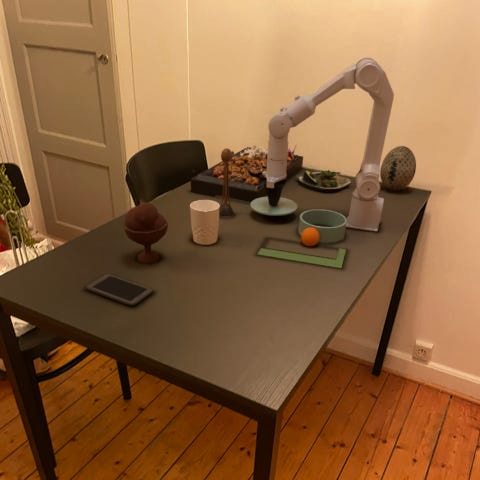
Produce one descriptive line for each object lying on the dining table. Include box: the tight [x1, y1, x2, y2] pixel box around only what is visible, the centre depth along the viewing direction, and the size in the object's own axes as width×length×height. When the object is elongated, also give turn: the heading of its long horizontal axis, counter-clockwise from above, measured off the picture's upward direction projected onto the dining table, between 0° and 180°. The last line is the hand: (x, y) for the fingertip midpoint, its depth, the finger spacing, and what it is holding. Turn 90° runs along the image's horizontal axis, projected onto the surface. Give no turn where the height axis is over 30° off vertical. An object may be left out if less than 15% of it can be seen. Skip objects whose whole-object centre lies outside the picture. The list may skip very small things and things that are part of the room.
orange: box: [300, 228, 320, 247], centre depth 127 cm, size 5×5×5 cm
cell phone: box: [85, 273, 153, 307], centre depth 107 cm, size 7×14×1 cm, turn 61°
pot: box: [297, 208, 347, 244], centre depth 134 cm, size 13×13×5 cm
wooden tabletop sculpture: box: [219, 147, 235, 217], centre depth 140 cm, size 6×5×20 cm
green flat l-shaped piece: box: [256, 246, 347, 270], centre depth 125 cm, size 22×11×1 cm, turn 73°
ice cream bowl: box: [122, 201, 169, 264], centre depth 116 cm, size 11×11×15 cm
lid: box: [249, 196, 298, 217], centre depth 142 cm, size 14×14×5 cm
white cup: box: [189, 199, 221, 246], centre depth 127 cm, size 8×8×10 cm
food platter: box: [190, 144, 304, 203], centre depth 170 cm, size 45×25×10 cm, turn 155°
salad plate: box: [294, 169, 351, 194], centre depth 171 cm, size 19×18×5 cm
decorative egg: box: [379, 145, 417, 192], centre depth 164 cm, size 12×12×15 cm
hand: (274, 203), depth 142 cm, fingers closed on lid, 2 cm apart
